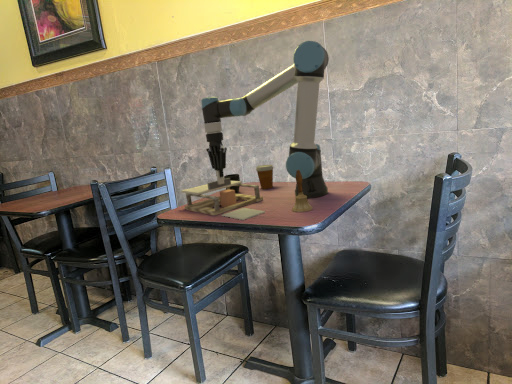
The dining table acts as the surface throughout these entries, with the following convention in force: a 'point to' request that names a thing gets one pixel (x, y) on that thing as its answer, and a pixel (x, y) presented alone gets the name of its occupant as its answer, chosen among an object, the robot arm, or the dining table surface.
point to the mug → (233, 178)
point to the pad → (243, 213)
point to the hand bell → (301, 197)
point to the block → (227, 198)
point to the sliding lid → (211, 187)
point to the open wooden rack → (216, 201)
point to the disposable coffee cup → (265, 176)
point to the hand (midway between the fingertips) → (221, 183)
